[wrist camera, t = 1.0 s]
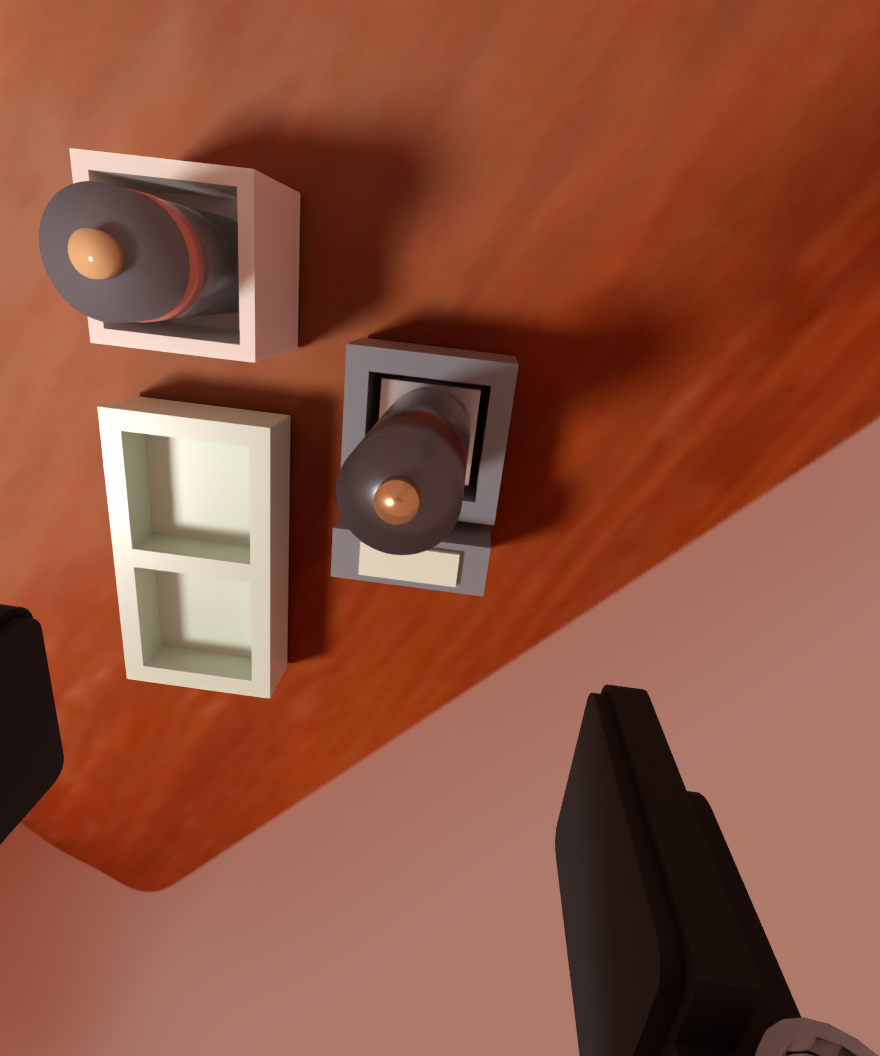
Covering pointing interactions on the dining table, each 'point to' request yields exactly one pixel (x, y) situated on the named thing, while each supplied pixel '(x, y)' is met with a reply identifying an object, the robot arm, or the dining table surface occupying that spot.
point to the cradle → (469, 542)
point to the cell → (407, 475)
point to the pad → (458, 391)
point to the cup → (177, 255)
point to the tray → (199, 541)
